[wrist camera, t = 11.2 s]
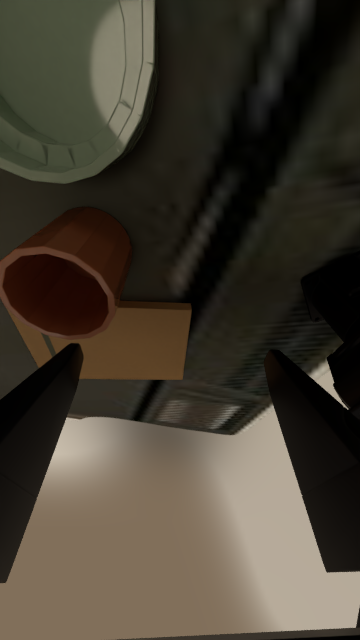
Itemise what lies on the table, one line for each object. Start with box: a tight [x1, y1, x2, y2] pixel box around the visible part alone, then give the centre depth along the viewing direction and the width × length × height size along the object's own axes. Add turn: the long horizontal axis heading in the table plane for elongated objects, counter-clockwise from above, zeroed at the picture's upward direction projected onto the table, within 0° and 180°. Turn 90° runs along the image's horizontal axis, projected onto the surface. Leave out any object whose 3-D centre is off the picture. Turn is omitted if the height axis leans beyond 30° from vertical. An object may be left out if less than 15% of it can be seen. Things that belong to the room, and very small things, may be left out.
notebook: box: [7, 301, 192, 380], centre depth 26 cm, size 12×18×1 cm
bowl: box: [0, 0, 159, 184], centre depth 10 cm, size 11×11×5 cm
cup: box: [0, 207, 132, 340], centre depth 16 cm, size 6×7×8 cm
